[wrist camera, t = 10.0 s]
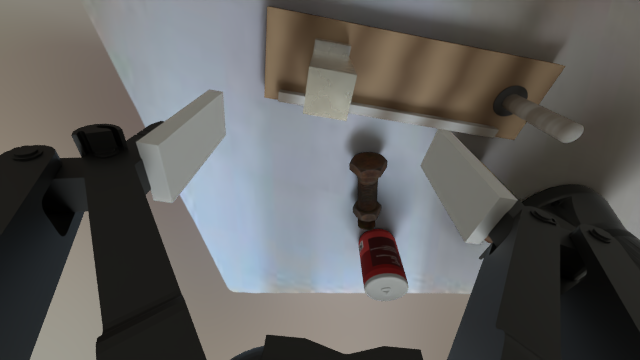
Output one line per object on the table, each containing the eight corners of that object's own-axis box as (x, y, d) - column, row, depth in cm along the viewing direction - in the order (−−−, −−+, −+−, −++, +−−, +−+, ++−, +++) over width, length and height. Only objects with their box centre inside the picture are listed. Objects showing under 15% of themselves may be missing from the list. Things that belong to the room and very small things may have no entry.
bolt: (360, 212, 50) (360, 148, 40) (384, 220, 47) (390, 154, 38) (347, 232, 46) (345, 166, 37) (373, 241, 44) (377, 174, 34)
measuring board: (553, 62, 31) (656, 89, 21) (505, 134, 37) (570, 180, 27) (270, 6, 28) (241, 7, 19) (267, 92, 34) (243, 128, 24)
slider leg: (349, 44, 28) (360, 62, 19) (339, 95, 32) (343, 130, 23) (315, 37, 28) (310, 52, 19) (308, 90, 32) (301, 124, 23)
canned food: (367, 256, 55) (375, 305, 46) (351, 235, 51) (356, 284, 42) (400, 245, 52) (415, 294, 43) (385, 222, 48) (398, 271, 40)
